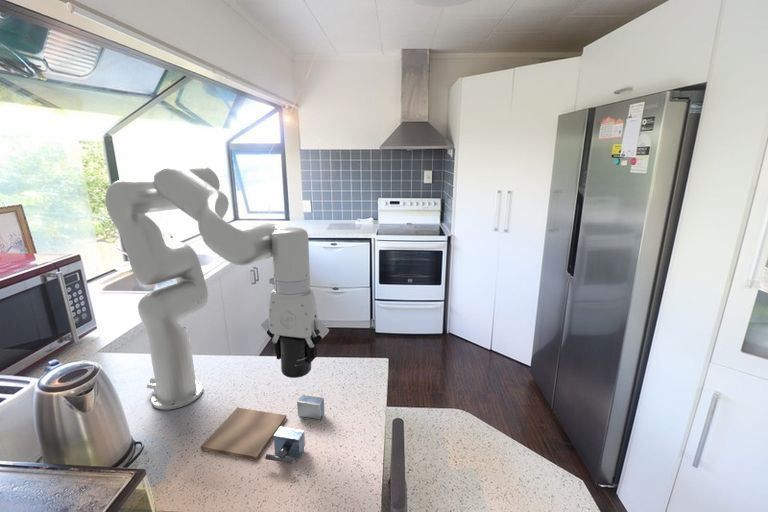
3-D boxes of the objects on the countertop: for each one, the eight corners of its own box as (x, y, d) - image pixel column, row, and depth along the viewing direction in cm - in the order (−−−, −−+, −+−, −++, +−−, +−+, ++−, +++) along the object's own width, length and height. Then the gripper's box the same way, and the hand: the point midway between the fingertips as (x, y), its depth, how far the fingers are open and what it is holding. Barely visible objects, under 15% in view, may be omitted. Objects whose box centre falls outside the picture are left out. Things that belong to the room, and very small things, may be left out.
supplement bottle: (304, 380, 80) (302, 331, 77) (276, 376, 81) (272, 327, 78) (316, 364, 87) (314, 318, 84) (289, 361, 88) (287, 315, 85)
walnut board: (201, 450, 83) (200, 446, 82) (237, 410, 96) (237, 407, 96) (256, 460, 80) (256, 456, 80) (286, 418, 93) (286, 415, 93)
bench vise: (266, 468, 78) (264, 448, 77) (303, 411, 96) (302, 394, 95) (291, 473, 77) (290, 453, 75) (324, 414, 95) (323, 398, 93)
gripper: (246, 287, 77) (253, 362, 81) (323, 294, 73) (326, 372, 78) (265, 276, 84) (270, 346, 89) (336, 282, 81) (337, 354, 85)
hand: (296, 357), depth 83 cm, fingers closed on supplement bottle, 6 cm apart
